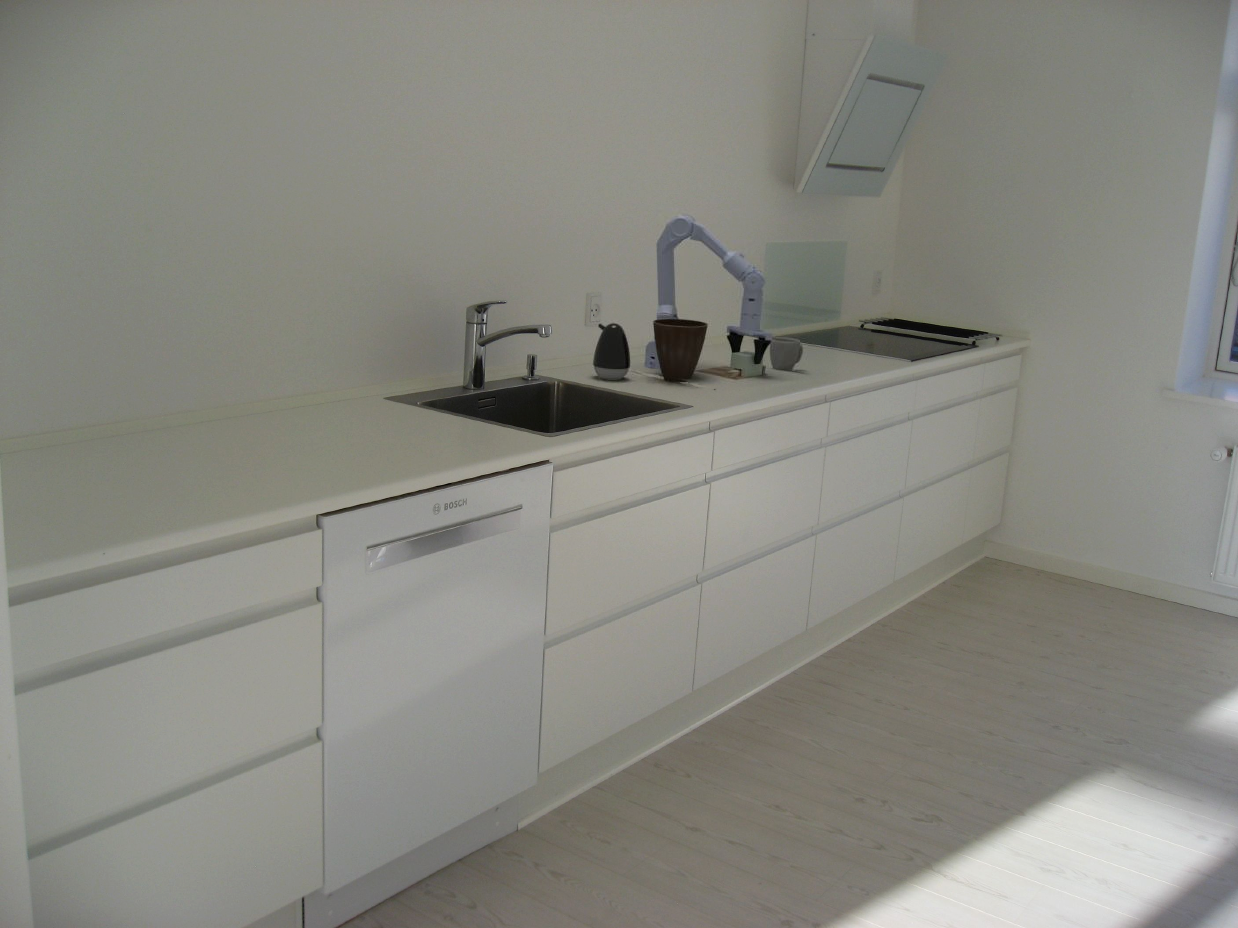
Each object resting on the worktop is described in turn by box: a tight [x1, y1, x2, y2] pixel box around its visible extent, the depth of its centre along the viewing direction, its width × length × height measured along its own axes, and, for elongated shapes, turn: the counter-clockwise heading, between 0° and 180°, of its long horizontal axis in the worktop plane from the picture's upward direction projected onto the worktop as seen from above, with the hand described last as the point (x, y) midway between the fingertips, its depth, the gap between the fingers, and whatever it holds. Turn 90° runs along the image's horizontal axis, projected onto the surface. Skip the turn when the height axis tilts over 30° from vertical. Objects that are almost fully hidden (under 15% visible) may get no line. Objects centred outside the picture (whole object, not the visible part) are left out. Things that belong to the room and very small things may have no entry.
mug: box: [769, 336, 804, 373], centre depth 334 cm, size 12×9×10 cm
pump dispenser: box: [592, 322, 631, 381], centre depth 305 cm, size 10×10×15 cm
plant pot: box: [652, 318, 709, 383], centre depth 309 cm, size 15×15×16 cm
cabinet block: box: [729, 350, 765, 378], centre depth 319 cm, size 8×6×6 cm
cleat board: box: [695, 364, 768, 380], centre depth 321 cm, size 15×15×4 cm
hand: (746, 361), depth 319 cm, fingers open, 7 cm apart
